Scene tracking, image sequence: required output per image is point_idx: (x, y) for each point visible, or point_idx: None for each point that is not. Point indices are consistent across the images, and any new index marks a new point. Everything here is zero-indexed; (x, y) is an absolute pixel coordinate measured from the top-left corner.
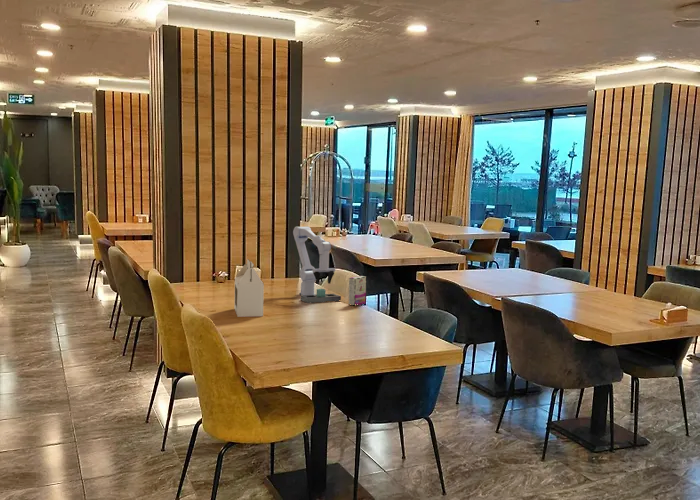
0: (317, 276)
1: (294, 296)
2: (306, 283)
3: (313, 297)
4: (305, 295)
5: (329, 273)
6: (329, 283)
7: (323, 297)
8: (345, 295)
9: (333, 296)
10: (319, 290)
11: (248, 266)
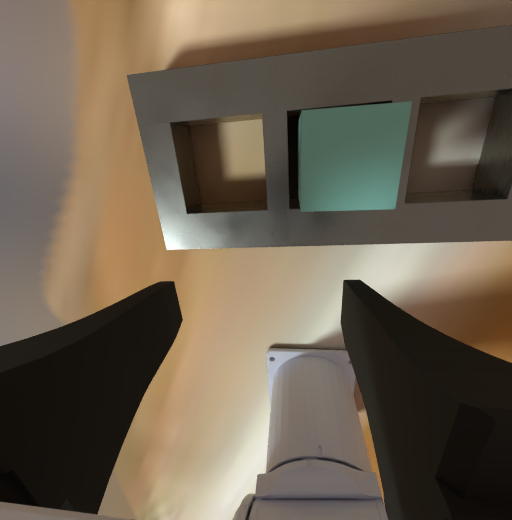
0: (480, 355)
1: None
2: (360, 455)
3: (492, 56)
4: (487, 219)
5: (58, 441)
6: (171, 282)
7: (354, 45)
8: (77, 306)
9: (214, 75)
10: (407, 103)
11: None
